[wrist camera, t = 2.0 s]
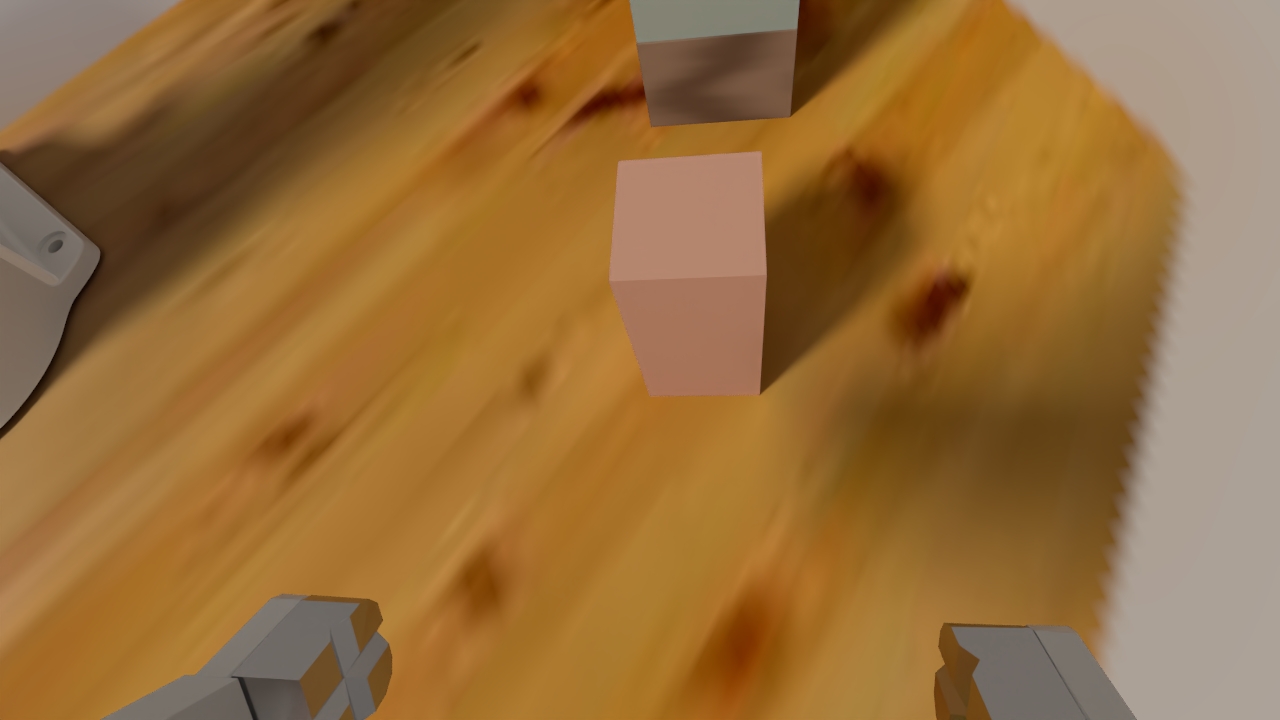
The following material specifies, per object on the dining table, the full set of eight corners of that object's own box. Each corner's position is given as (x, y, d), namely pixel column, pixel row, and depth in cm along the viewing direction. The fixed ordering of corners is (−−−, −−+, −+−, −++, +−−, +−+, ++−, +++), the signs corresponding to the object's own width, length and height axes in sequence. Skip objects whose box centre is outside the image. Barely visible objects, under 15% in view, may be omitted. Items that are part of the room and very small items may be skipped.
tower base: (651, 128, 33) (636, 45, 29) (657, 34, 36) (644, -55, 31) (789, 118, 32) (797, 30, 27) (784, 22, 35) (790, -72, 30)
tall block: (650, 396, 27) (609, 281, 19) (653, 302, 28) (618, 161, 20) (759, 394, 26) (766, 275, 18) (756, 298, 28) (761, 151, 20)
